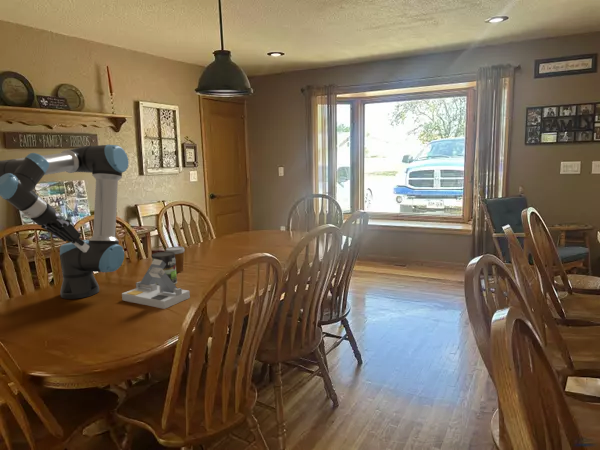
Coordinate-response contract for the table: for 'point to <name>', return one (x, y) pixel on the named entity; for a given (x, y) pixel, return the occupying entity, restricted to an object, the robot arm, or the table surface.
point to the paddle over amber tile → (148, 278)
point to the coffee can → (167, 264)
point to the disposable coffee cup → (178, 257)
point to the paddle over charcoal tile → (162, 280)
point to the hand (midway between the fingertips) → (86, 249)
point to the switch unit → (155, 296)
